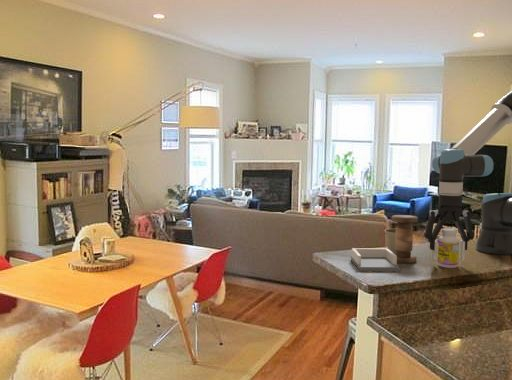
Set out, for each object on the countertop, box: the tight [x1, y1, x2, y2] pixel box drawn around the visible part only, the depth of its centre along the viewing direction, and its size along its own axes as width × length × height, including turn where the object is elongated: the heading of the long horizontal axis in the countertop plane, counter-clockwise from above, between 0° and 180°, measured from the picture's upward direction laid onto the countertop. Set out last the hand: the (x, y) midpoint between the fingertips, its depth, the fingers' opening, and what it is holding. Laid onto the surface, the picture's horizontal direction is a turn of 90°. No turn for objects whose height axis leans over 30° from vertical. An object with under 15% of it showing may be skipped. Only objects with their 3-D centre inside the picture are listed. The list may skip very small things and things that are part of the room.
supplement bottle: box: [437, 227, 460, 269], centre depth 167 cm, size 7×7×13 cm
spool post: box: [391, 214, 419, 264], centre depth 175 cm, size 9×9×16 cm
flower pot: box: [384, 228, 397, 254], centre depth 188 cm, size 9×9×9 cm
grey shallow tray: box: [350, 247, 401, 273], centre depth 167 cm, size 13×16×4 cm
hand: (447, 259), depth 167 cm, fingers open, 9 cm apart
